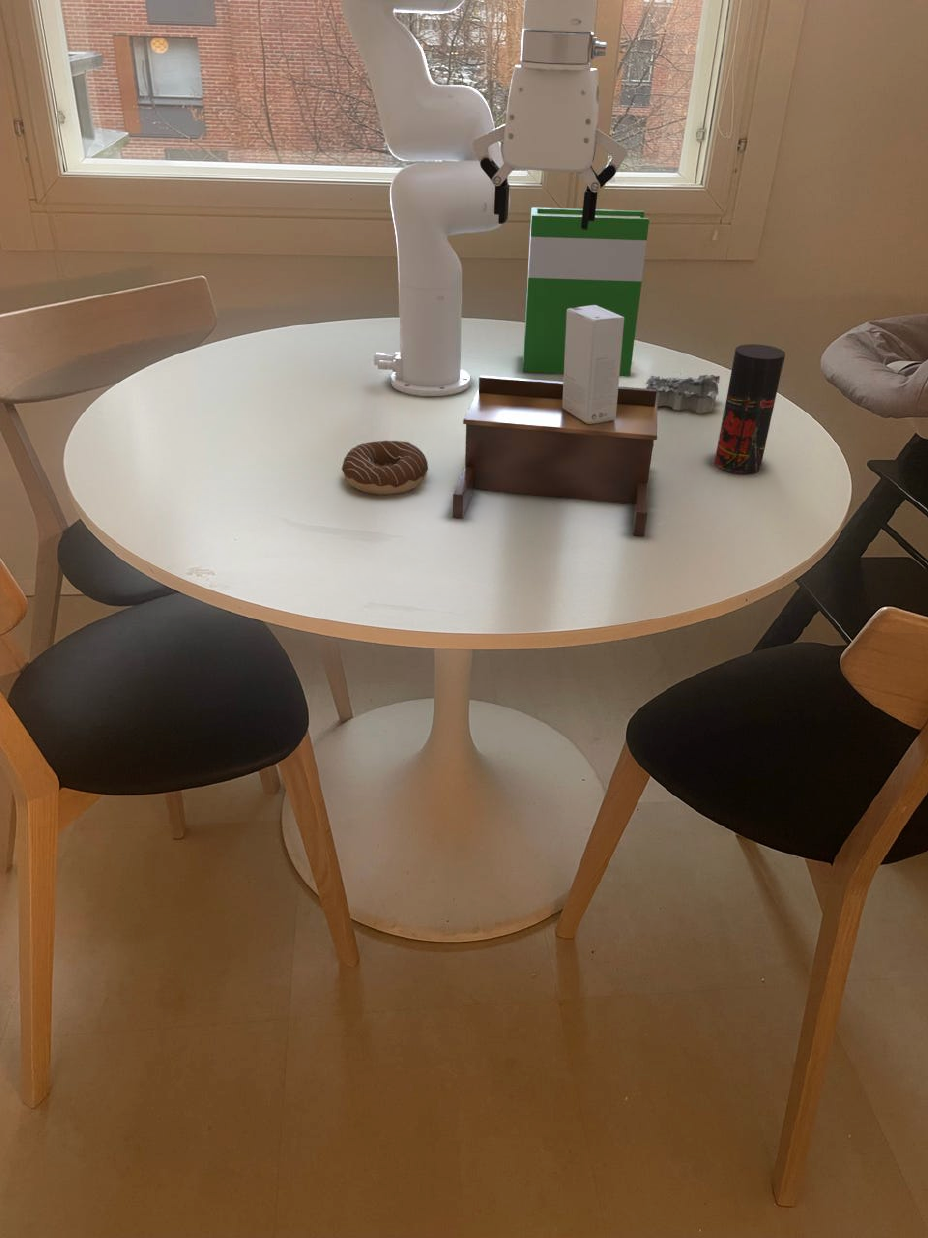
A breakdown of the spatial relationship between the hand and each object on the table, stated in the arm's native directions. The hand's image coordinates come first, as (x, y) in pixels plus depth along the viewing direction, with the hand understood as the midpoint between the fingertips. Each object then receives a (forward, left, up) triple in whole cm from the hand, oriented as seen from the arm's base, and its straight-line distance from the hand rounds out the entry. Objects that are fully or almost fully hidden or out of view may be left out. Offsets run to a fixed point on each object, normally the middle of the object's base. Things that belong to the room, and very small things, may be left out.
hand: (543, 224), depth 105 cm
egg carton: (+20, +24, -29) cm, 43 cm away
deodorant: (+27, +2, -29) cm, 40 cm away
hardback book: (+3, +38, -29) cm, 48 cm away
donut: (-17, -13, -29) cm, 36 cm away
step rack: (+5, -12, -29) cm, 31 cm away
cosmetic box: (+7, -8, -20) cm, 23 cm away
